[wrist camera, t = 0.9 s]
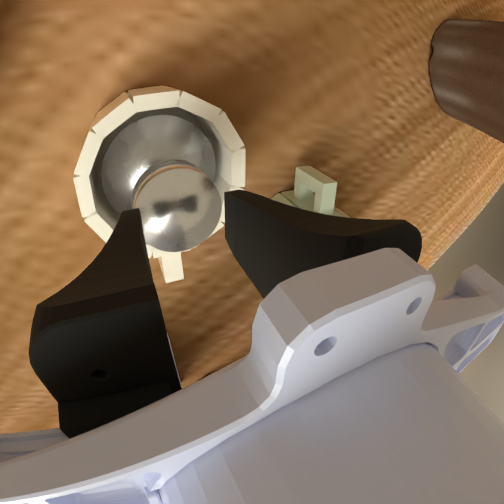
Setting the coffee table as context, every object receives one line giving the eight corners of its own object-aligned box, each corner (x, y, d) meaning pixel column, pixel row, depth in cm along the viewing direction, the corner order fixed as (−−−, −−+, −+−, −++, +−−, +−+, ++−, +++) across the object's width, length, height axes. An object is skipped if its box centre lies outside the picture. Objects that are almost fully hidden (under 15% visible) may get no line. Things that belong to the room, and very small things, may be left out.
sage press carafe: (323, 266, 33) (355, 298, 28) (241, 288, 30) (267, 329, 25) (339, 157, 26) (383, 181, 22) (241, 167, 23) (276, 195, 19)
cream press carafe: (75, 100, 16) (62, 110, 12) (213, 81, 19) (246, 86, 15) (104, 256, 22) (108, 303, 18) (217, 231, 25) (244, 271, 21)
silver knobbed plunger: (94, 124, 14) (85, 150, 10) (211, 107, 16) (254, 126, 12) (112, 231, 18) (118, 292, 13) (214, 210, 20) (251, 261, 15)
